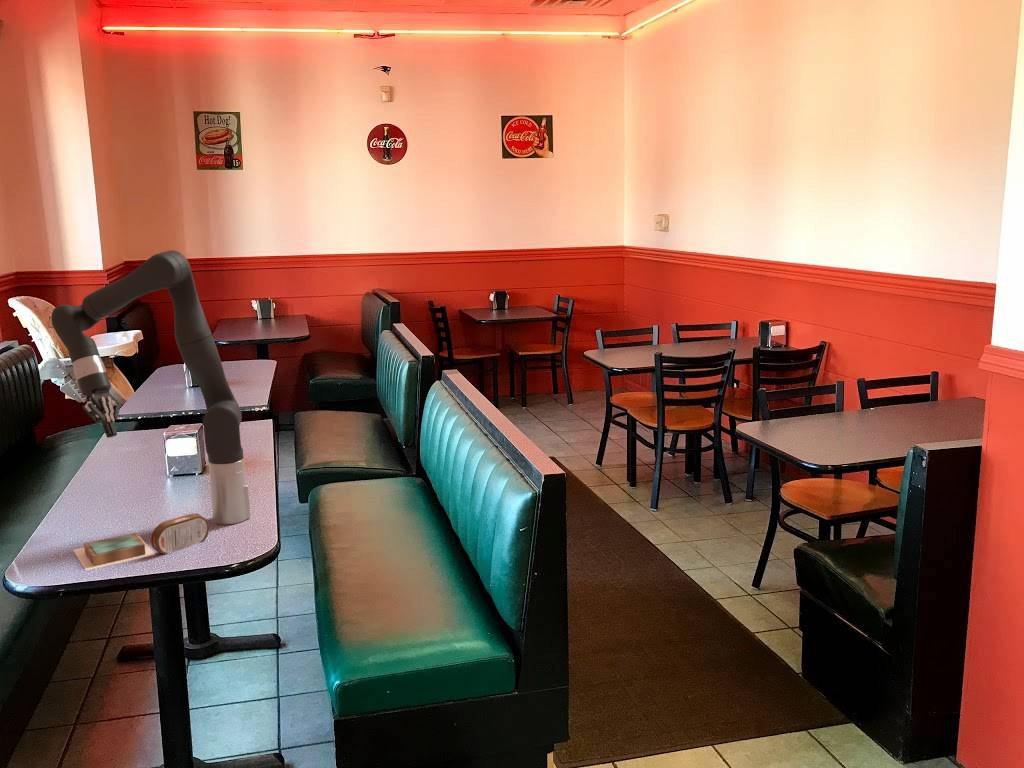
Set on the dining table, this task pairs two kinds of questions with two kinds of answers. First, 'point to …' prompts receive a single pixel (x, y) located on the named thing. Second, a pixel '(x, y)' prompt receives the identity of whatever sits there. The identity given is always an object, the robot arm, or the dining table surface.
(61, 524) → the dining table surface
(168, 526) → the tin
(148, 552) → the placemat
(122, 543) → the plaque
